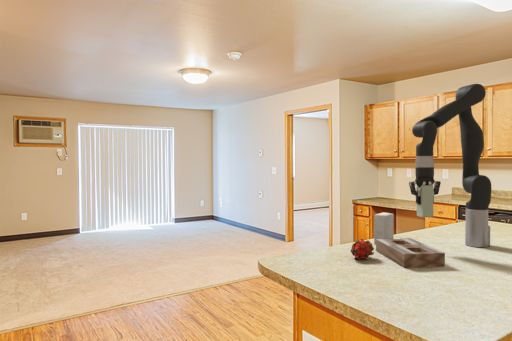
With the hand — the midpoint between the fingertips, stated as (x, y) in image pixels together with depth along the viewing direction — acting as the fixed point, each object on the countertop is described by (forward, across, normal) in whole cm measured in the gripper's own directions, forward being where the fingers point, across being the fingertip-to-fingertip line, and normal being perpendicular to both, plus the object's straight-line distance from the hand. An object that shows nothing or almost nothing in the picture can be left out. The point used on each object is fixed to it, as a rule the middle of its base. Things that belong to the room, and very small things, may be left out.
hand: (424, 204), depth 163 cm
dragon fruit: (+21, +33, +11) cm, 41 cm away
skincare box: (+21, +13, -13) cm, 28 cm away
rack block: (+20, +14, +12) cm, 28 cm away
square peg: (+5, 0, 0) cm, 5 cm away
